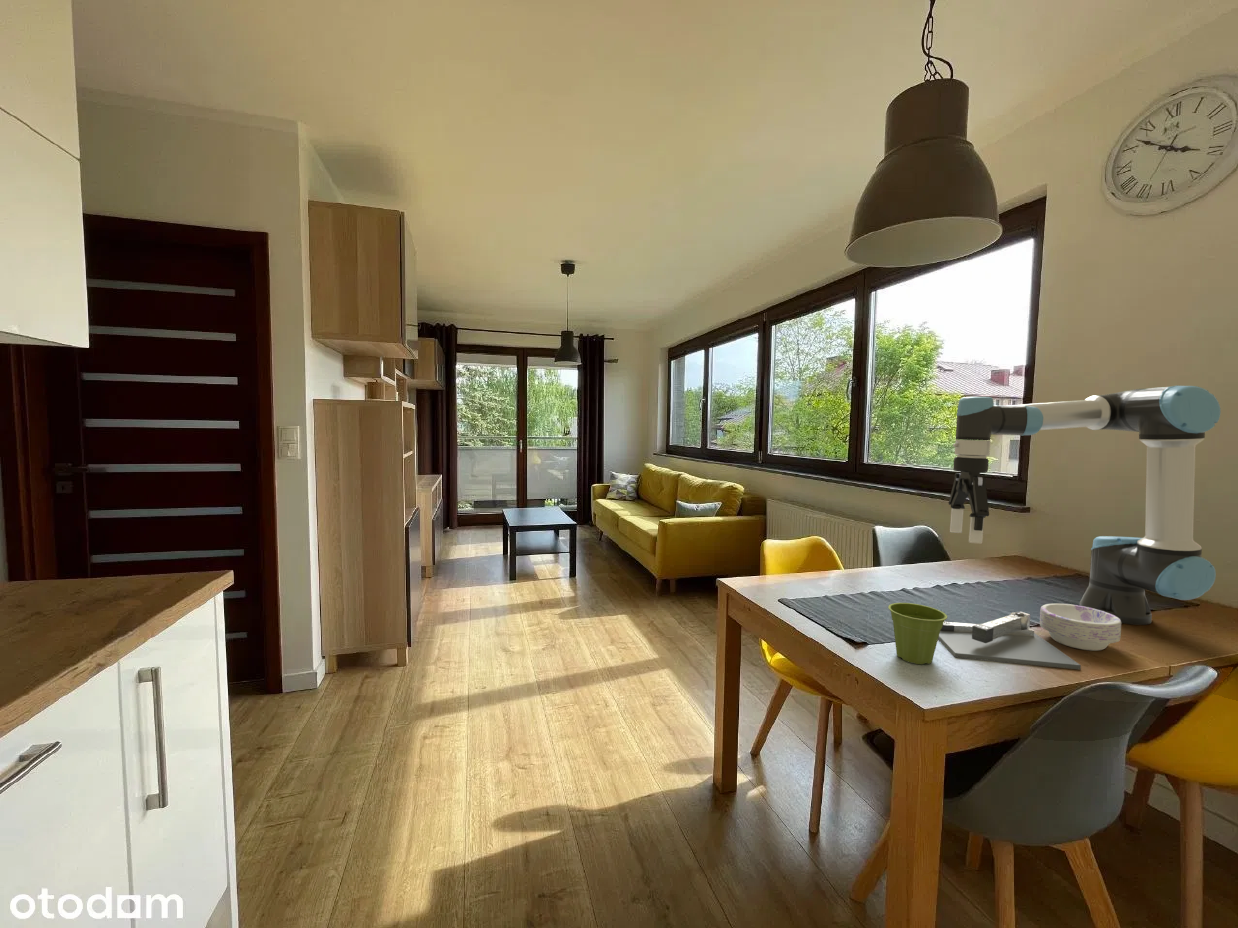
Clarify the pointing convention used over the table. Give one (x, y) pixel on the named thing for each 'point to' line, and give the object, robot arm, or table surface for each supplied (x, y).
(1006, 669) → the table surface
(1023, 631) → the arm
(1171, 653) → the table surface
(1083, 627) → the paper bowls
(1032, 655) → the board
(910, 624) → the plant pot
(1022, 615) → the bar
